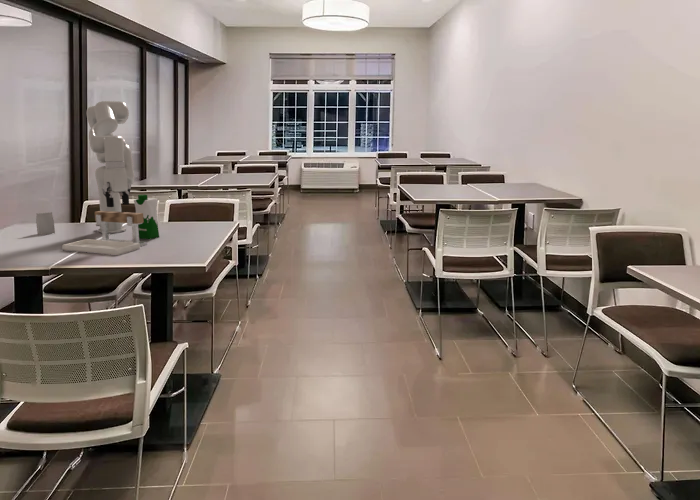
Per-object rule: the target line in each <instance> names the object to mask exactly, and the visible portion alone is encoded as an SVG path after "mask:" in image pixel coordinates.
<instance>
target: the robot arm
mask: <svg viewBox="0 0 700 500" xmlns="http://www.w3.org/2000/svg"><path fill="white" fill-rule="evenodd" d="M129 114H130V110H129V106H128V105H127V104H126V102H124V101H115V100H113V101H112V100H111V101H110V100H108V101H107V100H105V101H104V100H102V101H99V102H96V104H95V105H91V106H89V107H88V108H87V109H86V118H87V119H86V120H87V122H88V125H89V127H90V129H89V131H88V140H89V146H90V150H91V151H92V152H93V153H95V154H96V158H97V162H98V163H101V164H105V165H103V166H99V167H97V168H96V170H95V171H94V173H95V180H96V184H97V185H96V186H97V189H98V198H99V199H98V201H99V211H114V212H122V205H129V204H130V198H129V196H130V193H131V188H132V185H133V184H134V182H135V172H134V170H135V169H134V161H133V160H134V159H133V153H132V149H131V147H130V146H129V145H128V144H127V143H126V140H125V139H124V137H123V136H121V135H114V134H113V133H114V132H116V130H117V129H118V126H119V125H123V124H126V122H127V121H128V119H129ZM121 194H122V195H121ZM107 223H108V234H114V233H115V234H116V233H121V232H122V233H123V232H126V231H127V228H126V227H124V226H123V223H118V222H107ZM95 226H96V227H99V229H98V230H97V231H98V232H99V233H100V234H102V227H101V224H97V222H96V223H95Z"/></svg>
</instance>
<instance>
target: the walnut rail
mask: <svg viewBox="0 0 700 500" xmlns="http://www.w3.org/2000/svg"><path fill="white" fill-rule="evenodd" d="M96 215H102V221H103V222H118V223H122V224H127V217H128V216H129V217H133V223H134V224H139V223H143V222H144V220H143V213H136V212H130V211H129V212H128V211H126V212H125V211H121V212H114V211H100V210H98V211H94V221H95V222H96Z"/></svg>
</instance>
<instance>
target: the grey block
mask: <svg viewBox="0 0 700 500" xmlns="http://www.w3.org/2000/svg"><path fill="white" fill-rule="evenodd" d="M35 219H36V222H35V223H36V232H37V235H39V236H43V235H53V234H52V233H54V234H56V229H55V219H54V216H53V212H52V211H49V212H38V213H36V218H35Z"/></svg>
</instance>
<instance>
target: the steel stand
mask: <svg viewBox="0 0 700 500" xmlns="http://www.w3.org/2000/svg"><path fill="white" fill-rule="evenodd" d="M95 222H96V223H97V224H101V227H102V233H101V237H102V239H101V240H105V241H118V242H131V243H140V248H141V247H144V246H147V245H148V241H142V240H141V241H140V239H139V230H138V224H134V223H133V217H129V216H128V217H127V223H126V224H127V226H128V227H129V226H130V227H131V231H132V232H131V234H132V240H129V239H128V240H127V239H114V238H113V239H112V238H109V233H108V223H107V222H103V221H102V215H96V221H95ZM139 224H142V223H139Z"/></svg>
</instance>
